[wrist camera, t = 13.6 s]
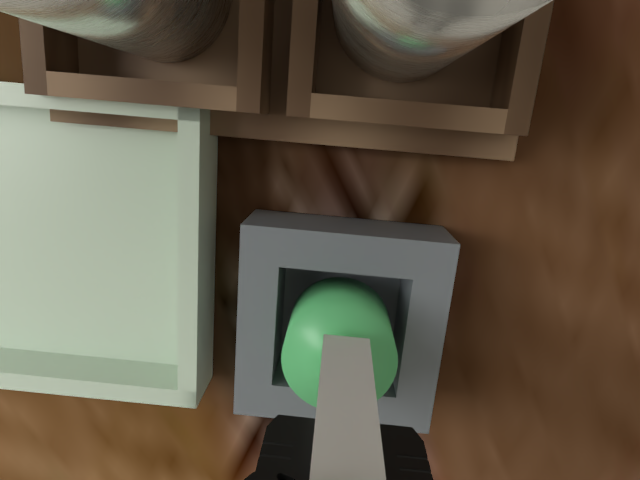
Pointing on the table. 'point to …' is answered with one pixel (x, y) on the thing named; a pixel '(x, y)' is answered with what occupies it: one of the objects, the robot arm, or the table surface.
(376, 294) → the button
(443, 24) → the cylinder
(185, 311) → the tray
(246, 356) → the grey square button housing
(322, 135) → the tray
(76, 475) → the table surface
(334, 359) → the robot arm
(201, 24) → the cylinder
